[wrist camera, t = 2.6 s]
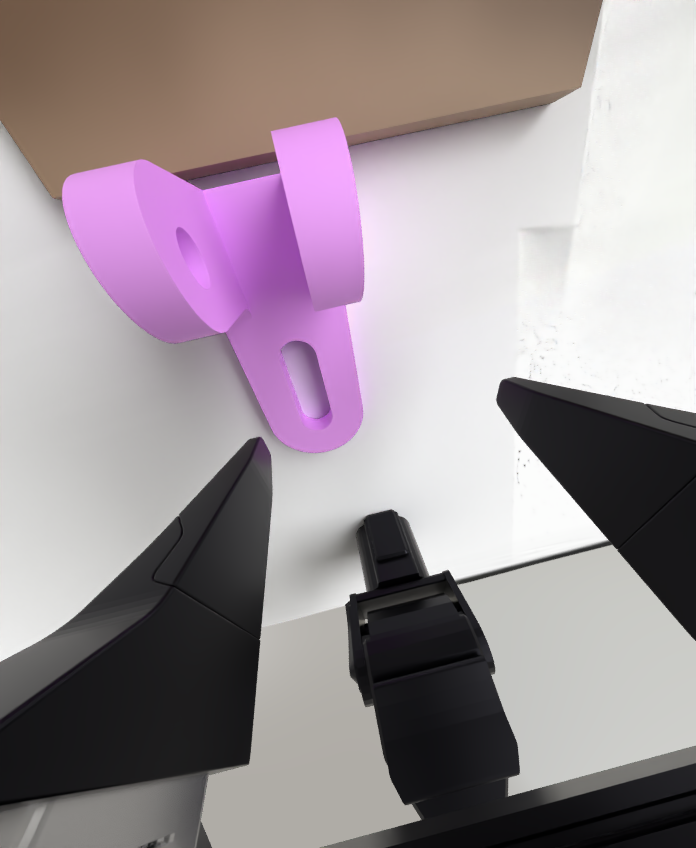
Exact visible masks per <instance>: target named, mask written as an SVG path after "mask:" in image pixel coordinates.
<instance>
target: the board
mask: <svg viewBox="0 0 696 848" xmlns="http://www.w3.org/2000/svg"><path fill="white" fill-rule="evenodd" d="M602 1H603V0H0V120H1V122H2V123H3V125H4V126H5V128H6V129H7V131H8V132H9V134H10V135H11V137H12V138H13V140H14V141H15V143H16V144H17V146H18V147H19V149H20V150H21V152H22V153H23V155H24V156H25V158H26V159H27V161H28V162H29V164H30V165H31V167H32V168H33V170H34V171H35V173H36V174H37V175H38V177H39V178H40V180H41V181H42V183H43V184H44V186H45V187H46V189H47V190H48V192H49V193H50V195H51V196H52V198H55V199H60V200H62V188H63V184H64V182H65V180H66V178H67V177H69V176H70V175H72V174H75V173H80V172H84V171H89V170H94V169H98V168H103V167H108V166H112V165H117V164H121V163H126V162H131V161H135V160H140V159H143V160H147V161H149V162H151V163H153V164H155V165H157V166H158V167H160V168H162V169H164V170H166V171H168V172H170V173H171V174H173V175H175V176H177V177H179V178H181V179H183V180H184V181H185V180H190V179H195V178H200V177H204V176H209V175H214V174H219V173H223V172H228V171H233V170H237V169H242V168H247V167H252V166H256V165H261V164H266V163H271V162H275V161H278V160H277V156H276V152H275V147H274V143H273V139H272V134H271V131H274V130H279V129H283V128H288V127H293V126H297V125H302V124H307V123H311V122H316V121H320V120H325V119H330V118H334V117H337V118H338V119H339V121H340V123H341V125H342V128H343V131H344V134H345V137H346V141H347V145H348V146H351V145H356V144H360V143H365V142H370V141H375V140H379V139H384V138H389V137H394V136H398V135H403V134H408V133H412V132H417V131H422V130H427V129H431V128H436V127H441V126H446V125H450V124H455V123H460V122H464V121H469V120H474V119H479V118H483V117H488V116H493V115H498V114H502V113H507V112H512V111H517V110H521V109H526V108H531V107H535V106H540V105H545V104H550V103H553V102H555V101H557V100H558V99H560V98H562V97H564V96H566V95H567V94H569V93H571V92H573V91H575V90H576V89H578V88H580V87H581V85H582V81H583V77H584V73H585V69H586V65H587V61H588V57H589V53H590V49H591V45H592V41H593V37H594V33H595V29H596V25H597V21H598V17H599V13H600V9H601V5H602Z"/></svg>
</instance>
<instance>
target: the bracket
mask: <svg viewBox="0 0 696 848" xmlns="http://www.w3.org/2000/svg"><path fill="white" fill-rule="evenodd" d="M271 134H272V139H273V143H274V147H275V152H276V156H277V160H278V164H279V168H280V173H279V174H274V175H269V176H265V177H260V178H256V179H251V180H247V181H242V182H237V183H233V184H228V185H224V186H219V187H215V188H210V189H205V190H201V189H199V188H197V187H196V186H194V185H192V184H190V183H188V182H186V181H184V180H183V179H181V178H179V177H177V176H175V175H173V174H171V173H170V172H168V171H166V170H164V169H162V168H160V167H158V166H157V165H155V164H153V163H151V162H149V161H147V160H143V159H140V160H135V161H131V162H126V163H121V164H117V165H112V166H108V167H103V168H98V169H94V170H89V171H84V172H80V173H75V174H72V175H70V176H69V177H67V178H66V180H65V182H64V184H63V188H62V201H63V207H64V212H65V216H66V219H67V222H68V225H69V228H70V230H71V233H72V235H73V238H74V240H75V242H76V244H77V246H78V248H79V250H80V252H81V254H82V256H83V257H84V259H85V261H86V263H87V264H88V266H89V268H90V269H91V271H92V272H93V274H94V275H95V277H96V278H97V280H98V281H99V283H100V284H101V285H102V287H103V288H104V289H105V291H106V292H107V293H108V295H109V296H110V297H111V298H112V299H113V301H114V302H115V303H116V304H117V305H118V306H119V307H120V308H121V310H122V311H123V312H124V313H125V314H126V315H127V316H128V317H129V318H130V319H131V320H132V321H134V322H135V323H136V324H137V325H138V326H139V327H141V328H142V329H143V330H145V331H146V332H147V333H149V334H150V335H152V336H154V337H155V338H157V339H159V340H162V341H164V342H167V343H174V344H175V343H181V342H185V341H190V340H194V339H199V338H203V337H207V336H212V335H216V334H220V333H224V332H225V333H226V335H227V337H228V339H229V341H230V343H231V345H232V347H233V349H234V352H235V354H236V356H237V358H238V360H239V362H240V364H241V366H242V368H243V370H244V373H245V375H246V377H247V379H248V381H249V383H250V385H251V387H252V389H253V392H254V394H255V396H256V398H257V400H258V402H259V404H260V406H261V408H262V411H263V413H264V415H265V417H266V419H267V421H268V423H269V425H270V427H271V429H272V431H273V433H274V434H275V436H276V437H277V438H278V439H279V440H280V441H281V442H282V443H284V444H285V445H287V446H289V447H291V448H293V449H295V450H298V451H302V452H309V453H319V452H326V451H330V450H333V449H336V448H338V447H340V446H342V445H344V444H345V443H347V442H348V441H349V440H350V439H351V438H352V437H353V436H354V435H355V434H356V432H357V431H358V429H359V427H360V425H361V422H362V418H363V406H362V400H361V394H360V388H359V382H358V377H357V371H356V365H355V359H354V353H353V347H352V341H351V335H350V329H349V323H348V317H347V311H346V306H345V305H347V304H351V303H355V302H360V301H361V300H362V297H363V291H364V255H363V240H362V230H361V220H360V212H359V204H358V197H357V191H356V184H355V178H354V173H353V167H352V162H351V158H350V153H349V149H348V145H347V141H346V137H345V134H344V131H343V128H342V125H341V123H340V121H339V119H338V118H337V117H334V118H330V119H325V120H320V121H316V122H311V123H307V124H302V125H297V126H293V127H288V128H283V129H279V130H274V131H271ZM291 341H303V342H306V343H308V344H309V345H310V346H312V348H313V349H314V350H315V352H316V355H317V359H318V362H319V366H320V370H321V374H322V377H323V381H324V385H325V389H326V393H327V396H328V400H329V404H330V411H329V412H328V414H327V415H325V416H324V417H322V418H318V419H313V418H309V417H307V416H306V415H305V414H304V413H303V412H302V410H301V407H300V404H299V401H298V398H297V395H296V393H295V390H294V387H293V384H292V381H291V379H290V376H289V373H288V370H287V367H286V364H285V362H284V359H283V356H282V353H281V349H282V348H283V346H284V345H286V344H287V343H289V342H291Z"/></svg>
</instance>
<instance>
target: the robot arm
mask: <svg viewBox="0 0 696 848" xmlns="http://www.w3.org/2000/svg"><path fill="white" fill-rule="evenodd" d="M496 401H497V404H498V406H499V407H500V409H501V410H502V412H503V413H504V415H505V416H506V418H507V419H508V421H509V422H510V424H511V425H512V426H513V428H514V429H515V431H516V432H517V434H518V435H519V436H520V437H521V439H522V440H523V441H524V442H525V443H526V445H527V446H528V447H529V448H530V449H531V450H532V452H533V453H534V454H535V455H536V456H537V457H538V459H539V460H540V461H541V462H542V463H543V464H544V466H545V467H546V468H547V469H548V470H549V471H550V473H551V474H552V475H553V476H554V477H555V478H556V479H557V481H558V482H559V483H560V484H561V485H562V486H563V488H564V489H565V490H566V491H567V492H568V493H569V495H570V496H571V497H572V498H573V499H574V500H575V502H576V503H577V504H578V505H579V506H580V507H581V509H582V510H583V511H584V512H585V513H586V514H587V516H588V517H589V518H590V519H591V520H592V521H593V522H594V524H595V525H596V526H597V527H598V528H599V529H600V531H601V532H602V533H603V534H604V535H605V536H606V538H607V539H608V540H609V541H610V542H611V543H612V545H613V546H614V547H615V548H616V549H618V552H619V553H620V554H621V555H622V557H623V558H624V559H625V560H626V561H627V562H628V563H629V564H630V566H631V567H632V568H633V569H634V570H635V572H636V573H637V574H638V575H639V576H640V577H641V579H642V580H643V581H644V582H645V583H646V584H647V586H648V587H649V588H650V589H651V590H652V591H653V593H654V594H655V595H656V596H657V597H658V598H659V600H660V601H661V602H662V603H663V604H664V605H665V607H666V608H667V609H668V610H669V611H670V612H671V614H672V615H673V616H674V617H675V618H676V619H677V620H678V622H679V623H680V624H681V625H682V626H683V627H684V629H685V630H686V631H687V632H688V633H689V634H690V635H691V637H692V638H693V639H694V640H695V641H696V413H692V412H687V411H681V410H676V409H671V408H666V407H661V406H656V405H651V404H644V403H641V402H636V401H631V400H626V399H621V398H616V397H611V396H606V395H601V394H596V393H591V392H586V391H581V390H576V389H571V388H566V387H561V386H556V385H552V384H547V383H542V382H537V381H532V380H527V379H522V378H517V377H511V378H507V379H503V380H502V381H501V382H500V385H499V390H498V394H497V398H496ZM271 508H272V466H271V455H270V452H269V450H268V448H267V446H266V444H265V442H264V440H263V439H262V438H261V437H256V438H251V439H249V440H248V441H247V442H246V443H245V444H244V445H243V446H242V447H241V448H240V450H239V451H238V452H237V453H236V454H235V455H234V456H233V457H232V458H231V459H230V460H229V461H228V462H227V463H226V465H225V466H224V467H223V468H222V469H221V470H220V471H219V472H218V473H217V474H216V475H215V476H214V477H213V479H212V480H211V481H210V482H209V483H208V484H207V485H206V486H205V487H204V488H203V489H202V490H201V491H200V492H199V494H198V495H197V496H196V497H195V498H194V499H193V500H192V501H191V502H190V503H189V504H188V505H187V506H186V508H185V509H184V510H183V511H182V512H181V513H180V514H179V516H177V517H176V518H175V519H174V520H173V521H172V523H171V524H170V525H169V526H168V527H167V528H166V529H165V530H164V531H163V532H162V533H161V534H160V535H159V536H158V537H157V538H156V539H155V540H154V541H153V542H152V543H151V544H150V545H149V546H148V547H147V548H146V549H145V550H144V551H143V552H142V553H141V554H140V555H139V556H138V557H137V558H136V559H135V560H134V561H133V562H132V563H131V564H130V565H129V566H128V567H127V568H126V569H125V570H124V571H123V572H122V573H120V574H119V575H118V576H117V577H116V578H115V579H114V580H113V581H112V582H111V583H110V584H109V585H108V586H107V587H106V588H105V589H104V590H103V591H102V592H101V593H100V594H99V595H97V596H96V597H95V598H94V599H93V600H92V601H91V602H90V603H89V604H88V605H87V606H86V607H85V608H84V609H83V610H82V611H81V612H79V613H78V614H77V615H76V616H75V617H74V618H72V619H71V620H70V621H69V622H67V623H66V624H65V625H63V626H62V627H61V628H59V629H58V630H56V631H55V632H54V633H52V634H50V635H49V636H47V637H46V638H44V639H42V640H41V641H39V642H37V643H35V644H34V645H32V646H30V647H28V648H26V649H24V650H22V651H20V652H18V653H17V654H15V655H13V656H11V657H9V658H7V659H5V660H3V661H1V662H0V848H212V847H211V844H210V842H209V840H208V837H207V835H206V832H205V830H204V828H203V825H202V823H201V816H202V810H203V804H204V798H205V792H206V787H207V781H208V775H212V774H215V773H219V772H223V771H227V770H231V769H235V768H238V767H242V766H246V765H248V764H249V761H250V753H251V742H252V731H253V719H254V707H255V696H256V683H257V671H258V661H259V648H260V640H259V639H260V636H261V624H262V613H263V601H264V589H265V578H266V566H267V555H268V543H269V531H270V520H271ZM356 538H357V544H358V549H359V554H360V559H361V564H362V570H363V575H364V580H365V585H366V591H367V592H364V593H360V594H356V593H355V594H351V595H350V601H349V602H348V603H347V604H345V606H346V614H347V622H348V640H349V670H350V676H351V678H352V679H353V680H354V681H355V682H356V683H357V684H358V686H359V690H360V692H361V693H362V697H363V701H364V704H365V707H369V706H373V705H374V708H375V713H376V719H377V724H378V729H379V734H380V740H381V745H382V750H383V755H384V758H385V761H386V763H387V765H388V769H389V775H390V778H391V780H392V783H393V784H394V786H395V788H396V790H397V792H398V794H399V796H400V798H401V800H402V802H403V803H404V804H405V805H409V804H412V805H413V807H414V808H415V810H416V811H417V813H418V815H419V816H420V818H421V819H422V820H420V821H417V822H413V823H409V824H406V825H402V826H398V827H395V828H391V829H387V830H384V831H380V832H376V833H372V834H369V835H365V836H362V837H358V838H354V839H350V840H347V841H343V842H339V843H336V844H332V845H328V846H325V847H321V848H696V746H693V747H689V748H686V749H682V750H678V751H675V752H671V753H668V754H664V755H660V756H656V757H652V758H649V759H645V760H641V761H638V762H634V763H630V764H627V765H623V766H619V767H616V768H612V769H608V770H604V771H601V772H597V773H593V774H590V775H586V776H582V777H579V778H575V779H572V780H568V781H564V782H561V783H557V784H553V785H549V786H546V787H542V788H538V789H534V790H531V791H527V792H524V793H520V794H516V795H512V796H509V797H508V778H509V777H512V776H517V775H519V773H520V766H519V755H518V746H517V742H516V739H515V737H514V734H513V732H512V729H511V727H510V725H509V722H508V720H507V717H506V715H505V712H504V710H503V707H502V704H501V701H500V699H499V696H498V693H497V690H496V688H495V685H494V682H493V679H492V676H491V675H492V674H495V665H494V660H493V657H492V654H491V651H490V648H489V645H488V643H487V640H486V638H485V636H484V634H483V631H482V629H481V627H480V625H479V623H478V621H477V620H476V618H475V616H474V614H473V612H472V611H471V609H470V607H469V605H468V604H467V602H466V600H465V599H464V597H463V595H462V593H461V591H460V589H459V588H458V586H457V584H456V582H455V581H454V579H453V577H452V575H451V573H450V572H449V570H447V571H443V572H442V573H440V574H436V575H432V576H429V574H428V571H427V568H426V566H425V563H424V561H423V558H422V556H421V553H420V550H419V548H418V545H417V543H416V540H415V538H414V535H413V532H412V530H411V527H410V525H409V522H408V521H407V520H406V519H405V518H403V517H400V516H398V513H397V512H395V511H394V510H389V511H385V512H380V513H376V514H372V515H368V516H367V517H366V519H364V524H363V525H362V526H361V527H360V528H359V530H358V531H357V534H356ZM365 619H368V623H366V624H365Z"/></svg>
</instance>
